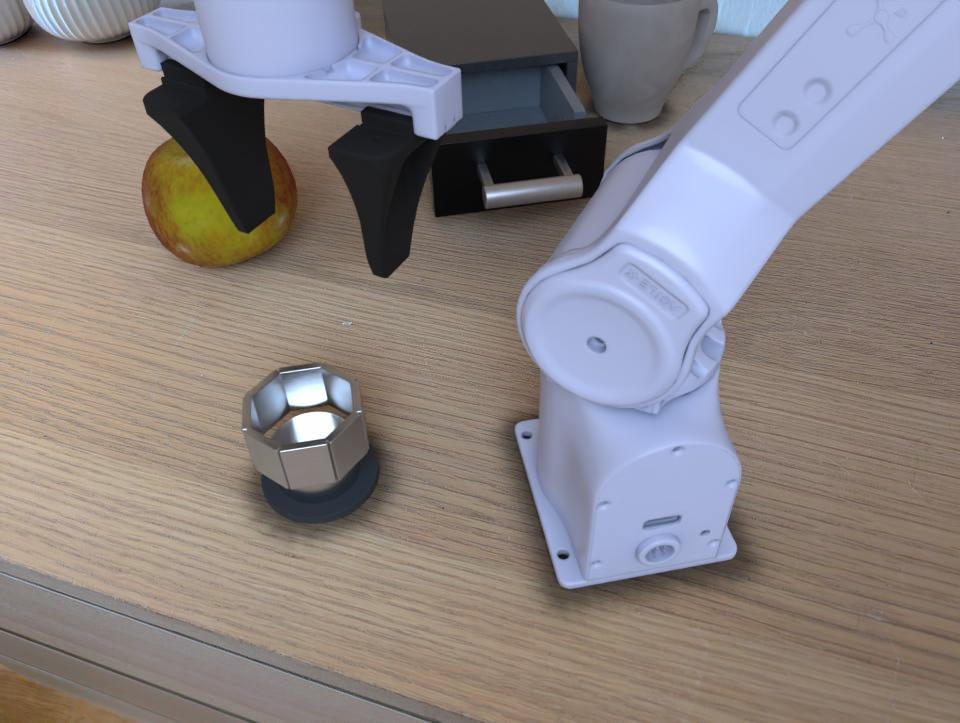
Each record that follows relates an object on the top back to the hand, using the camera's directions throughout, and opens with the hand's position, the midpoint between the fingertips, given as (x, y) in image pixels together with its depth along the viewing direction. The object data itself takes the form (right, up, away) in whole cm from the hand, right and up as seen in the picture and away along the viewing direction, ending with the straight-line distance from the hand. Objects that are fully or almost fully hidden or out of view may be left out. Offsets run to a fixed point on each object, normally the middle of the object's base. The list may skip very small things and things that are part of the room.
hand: (321, 242), depth 38 cm
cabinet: (+7, +15, +29) cm, 34 cm away
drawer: (+9, +8, +20) cm, 23 cm away
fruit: (-9, +2, +16) cm, 19 cm away
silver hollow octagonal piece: (0, -11, +2) cm, 11 cm away
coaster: (0, -11, +2) cm, 11 cm away
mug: (+19, +15, +28) cm, 37 cm away
